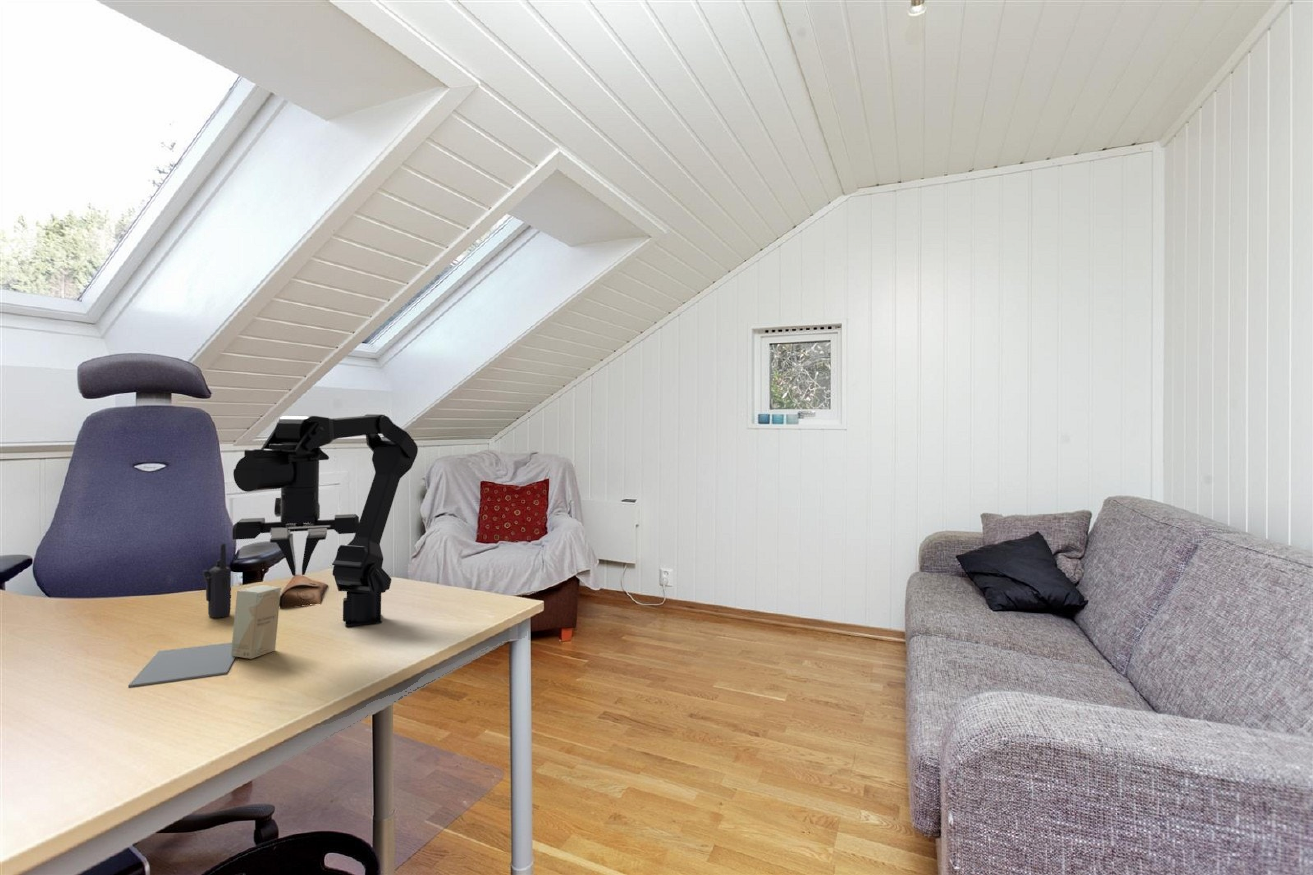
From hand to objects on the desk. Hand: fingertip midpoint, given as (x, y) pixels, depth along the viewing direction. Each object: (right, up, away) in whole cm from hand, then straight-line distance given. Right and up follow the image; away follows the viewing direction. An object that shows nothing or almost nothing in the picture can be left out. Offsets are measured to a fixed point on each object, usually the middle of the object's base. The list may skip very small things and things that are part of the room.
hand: (298, 574), depth 104 cm
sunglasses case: (-18, -13, +32) cm, 39 cm away
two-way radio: (-27, -13, +17) cm, 34 cm away
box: (-6, -13, -3) cm, 15 cm away
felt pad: (-13, -13, -7) cm, 20 cm away
